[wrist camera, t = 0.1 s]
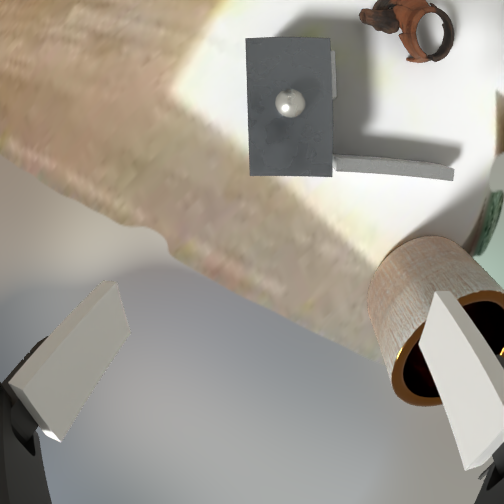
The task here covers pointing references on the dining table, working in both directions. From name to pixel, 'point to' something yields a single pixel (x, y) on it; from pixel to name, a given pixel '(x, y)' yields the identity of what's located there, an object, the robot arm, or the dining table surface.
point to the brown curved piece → (408, 25)
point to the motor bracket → (304, 114)
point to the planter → (428, 308)
